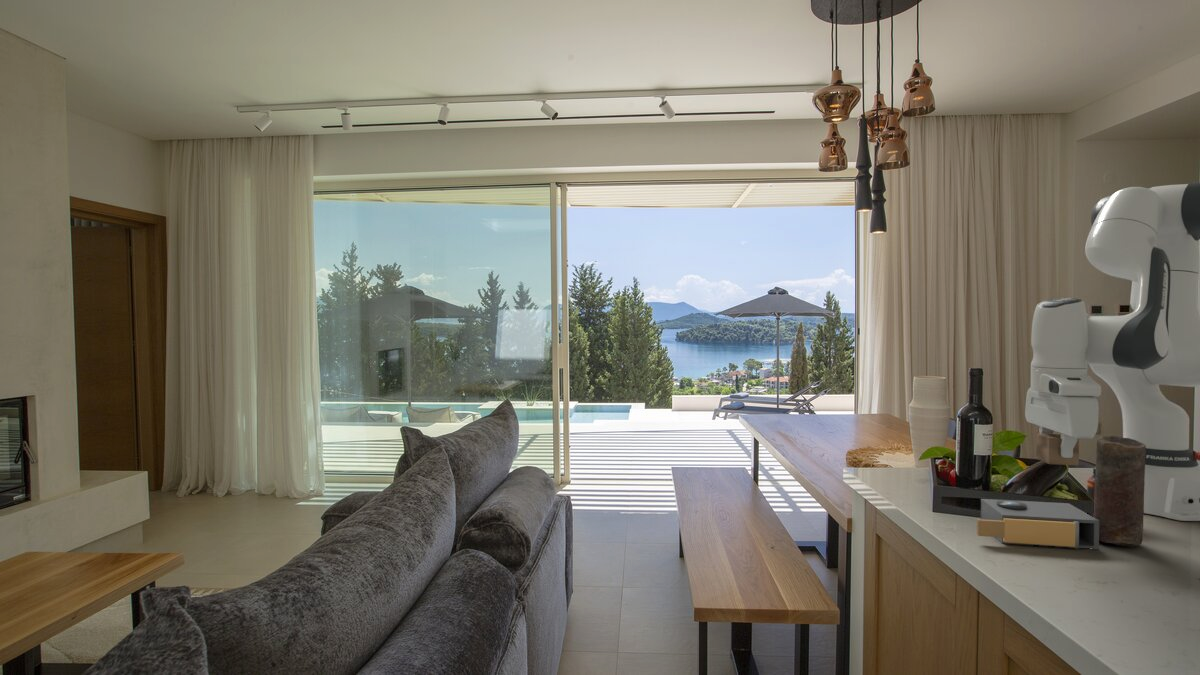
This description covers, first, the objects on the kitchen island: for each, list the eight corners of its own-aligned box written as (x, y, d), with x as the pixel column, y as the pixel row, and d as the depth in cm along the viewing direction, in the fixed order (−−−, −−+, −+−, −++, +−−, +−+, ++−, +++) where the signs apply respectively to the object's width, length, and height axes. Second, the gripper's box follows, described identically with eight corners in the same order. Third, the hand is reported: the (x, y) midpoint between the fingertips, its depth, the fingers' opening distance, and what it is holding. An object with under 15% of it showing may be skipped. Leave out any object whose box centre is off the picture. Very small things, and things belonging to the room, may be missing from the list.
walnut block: (1036, 458, 123) (1036, 433, 123) (1065, 459, 122) (1065, 434, 121) (1048, 464, 118) (1049, 437, 118) (1078, 465, 117) (1079, 439, 117)
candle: (1136, 539, 120) (1137, 437, 119) (1150, 552, 113) (1152, 444, 113) (1087, 534, 123) (1088, 434, 122) (1098, 546, 116) (1100, 440, 116)
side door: (1077, 546, 115) (1077, 521, 115) (1079, 548, 114) (1080, 522, 114) (976, 540, 119) (976, 515, 119) (978, 541, 118) (978, 516, 118)
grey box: (1068, 530, 125) (1068, 500, 125) (1098, 549, 115) (1099, 517, 115) (980, 524, 129) (981, 495, 129) (1002, 543, 118) (1002, 511, 118)
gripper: (1016, 377, 130) (1015, 442, 131) (1066, 387, 110) (1064, 464, 111) (1050, 377, 129) (1049, 443, 129) (1107, 387, 109) (1105, 466, 109)
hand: (1057, 453), depth 120 cm, fingers closed on walnut block, 5 cm apart
